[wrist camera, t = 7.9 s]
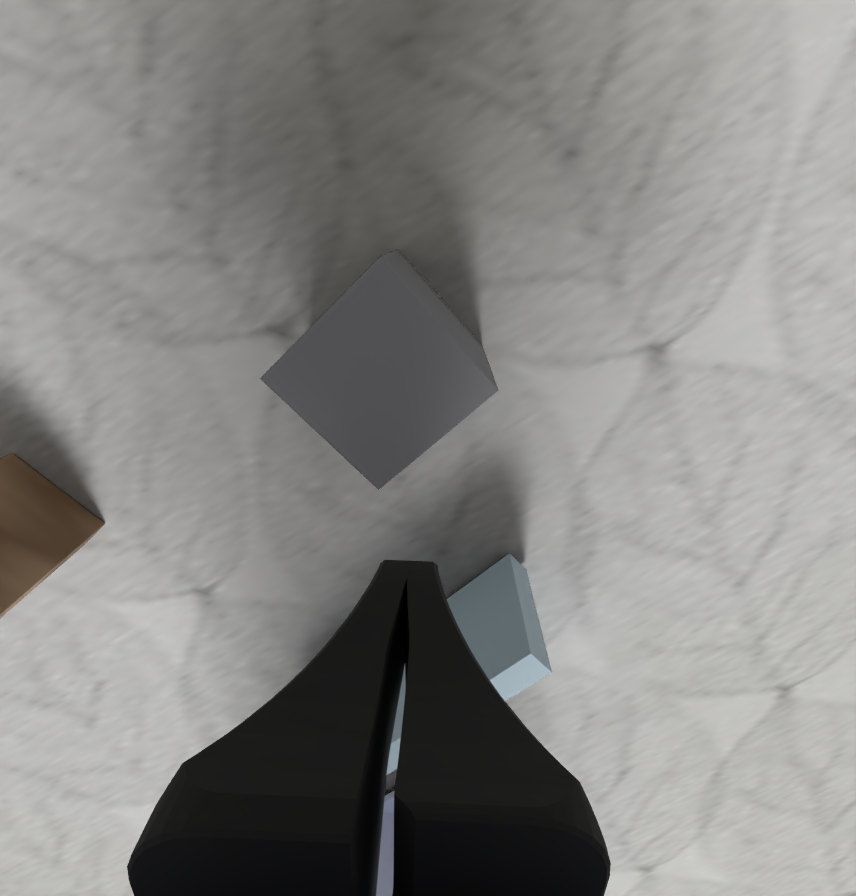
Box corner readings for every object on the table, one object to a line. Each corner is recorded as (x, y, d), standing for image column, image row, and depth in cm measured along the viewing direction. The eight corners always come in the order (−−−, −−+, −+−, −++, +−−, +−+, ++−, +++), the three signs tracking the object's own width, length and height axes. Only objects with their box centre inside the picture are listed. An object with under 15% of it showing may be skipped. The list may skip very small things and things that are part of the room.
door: (334, 727, 23) (308, 848, 19) (302, 704, 23) (267, 823, 18) (542, 584, 20) (572, 690, 15) (509, 553, 19) (530, 653, 15)
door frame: (383, 724, 23) (368, 859, 18) (346, 747, 24) (321, 883, 19) (18, 444, 18) (-144, 526, 13) (-16, 485, 19) (-182, 577, 14)
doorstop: (482, 345, 16) (498, 389, 12) (394, 422, 18) (378, 490, 13) (397, 249, 15) (379, 257, 11) (310, 337, 17) (260, 378, 12)
